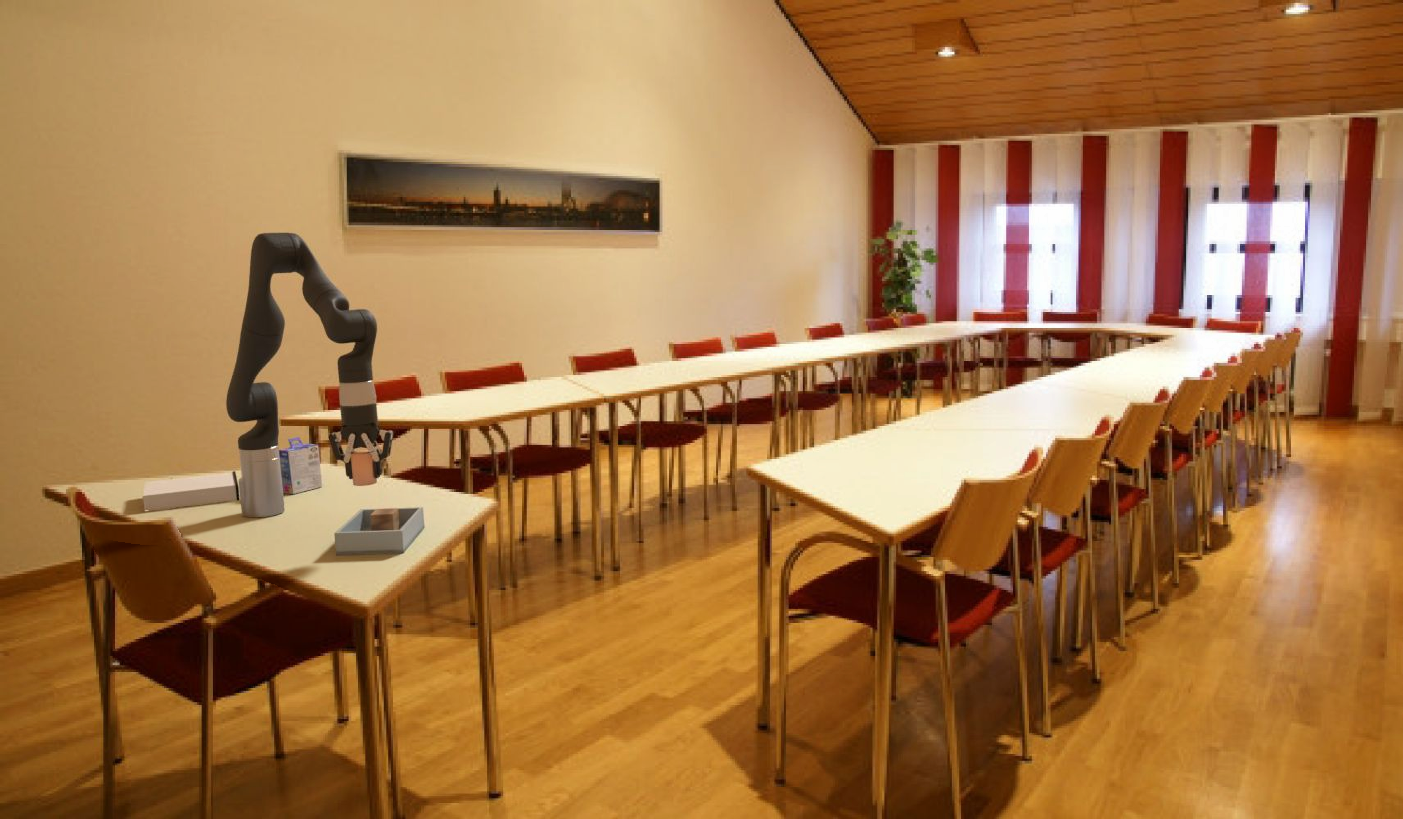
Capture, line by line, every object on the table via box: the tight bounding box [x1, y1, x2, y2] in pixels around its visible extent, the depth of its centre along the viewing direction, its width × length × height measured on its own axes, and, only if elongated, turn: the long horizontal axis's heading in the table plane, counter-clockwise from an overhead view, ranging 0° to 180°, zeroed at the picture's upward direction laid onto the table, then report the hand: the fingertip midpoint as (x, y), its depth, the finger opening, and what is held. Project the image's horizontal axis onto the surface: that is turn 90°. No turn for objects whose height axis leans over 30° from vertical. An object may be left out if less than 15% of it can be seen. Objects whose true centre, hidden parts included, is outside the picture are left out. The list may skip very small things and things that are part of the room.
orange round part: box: [351, 449, 378, 487], centre depth 221 cm, size 5×5×7 cm
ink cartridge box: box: [279, 436, 323, 495], centre depth 278 cm, size 10×6×14 cm, turn 147°
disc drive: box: [142, 470, 241, 511], centre depth 272 cm, size 18×22×5 cm
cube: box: [371, 507, 400, 531], centre depth 232 cm, size 5×5×5 cm
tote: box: [334, 506, 425, 556], centre depth 229 cm, size 15×20×5 cm
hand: (364, 477), depth 221 cm, fingers closed on orange round part, 5 cm apart
